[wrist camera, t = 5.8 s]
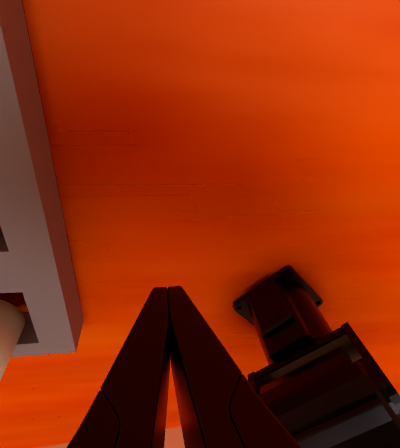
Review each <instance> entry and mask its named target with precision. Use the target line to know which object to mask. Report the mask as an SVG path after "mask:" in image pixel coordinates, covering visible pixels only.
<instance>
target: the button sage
mask: <svg viewBox="0 0 400 448" xmlns="http://www.w3.org/2000/svg"><path fill="white" fill-rule="evenodd" d="M24 326H25V317H24V315H23V314H22V312H21V311H20V310H19V309H18V308H17V307H15V306H14V305H12V304H11V303H8V302H6V301H3V300H0V380H1V378H2V376H3V373H4V371H5V369H6V367H7V364H8V362H9V360H10V358H11V355H12V353H13V351H14V348H15V346H16V344H17V342H18V339H19V337H20V335H21V333H22V330H23V328H24Z"/></svg>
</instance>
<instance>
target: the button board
mask: <svg viewBox="0 0 400 448" xmlns="http://www.w3.org/2000/svg"><path fill="white" fill-rule="evenodd" d="M17 292H22V293H23V296H24V299H25V302H26V305H27V308H28V311H29V313H22V314H23V315H24V317H25V326H24V328H23V330H22V333H21V335H20V337H19V339H18V342H17V344H16V346H15V348H14V351H13V353H12V355H11V357H18V356H31V355H44V354H56V353H69V352H76V350H77V346H78V341H79V337H80V333H81V329H82V324H83V317H82V311H81V306H80V301H79V296H78V291H77V285H76V280H75V275H74V270H73V264H72V259H71V254H70V249H69V244H68V238H67V233H66V228H65V223H64V218H63V212H62V207H61V202H60V197H59V192H58V186H57V181H56V176H55V171H54V165H53V160H52V155H51V150H50V145H49V139H48V134H47V129H46V124H45V119H44V113H43V108H42V103H41V98H40V93H39V87H38V82H37V77H36V72H35V66H34V61H33V56H32V51H31V46H30V40H29V35H28V30H27V25H26V20H25V14H24V9H23V4H22V0H0V293H17Z"/></svg>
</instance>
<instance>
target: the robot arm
mask: <svg viewBox="0 0 400 448" xmlns="http://www.w3.org/2000/svg"><path fill="white" fill-rule="evenodd" d="M288 272H289V273H288ZM322 303H323V301H322V299H321V298H320V296H319V295H318V294H317V293H316V292H315V291H314V290H313V289H312V288H311V287H310V286H309V285H308V284H307V282H306V281H305V280H304V279H303V278H302V277H301V276H300V275H299V274H298V273H297V272H296V271H295V269H294V268H293V267H291V266H288V267H285V268H284V269H282V270H281V271H279V272H278V273H277V274H275V275H274V276H272V277H271V278H269V279H268V280H266V281H265V282H263V283H262V284H261V285H259V286H258V287H256V288H255V289H253V290H252V291H250V292H249V293H247V294H246V295H244V296H243V297H242V298H240V299H239V300H237V301H236V302H234V304H233V307H234V310H235V311H236V312H237V313H239V314H240V315H241V316H243V317H244V318H245V319H246V320H248V321H249V322H250V323H252V324H253V325H254V326H255V329H256V331H257V334H258V337H259V339H260V342H261V345H262V348H263V350H264V353H265V356H266V358H267V361H268V364H269V365H268V366H266V367H264V368H263V369H261V370H259V371H257V372H252V373H250V374H248V380H247V379H246V378H245V376H244V375H241V374H242V372H241V371H240V369H239V368H238V366H237V365H236V364H235V362H234V361H233V359H232V358H231V356H230V355H229V354H228V352H227V351H226V349H225V348H224V346H223V345H222V344H221V342H220V341H219V339H218V338H217V336H216V335H215V334H214V332H213V331H212V329H211V328H210V326H209V325H208V324H207V322H206V321H205V319H204V318H203V316H202V315H201V314H200V312H199V311H198V309H197V308H196V306H195V305H194V304H193V302H192V301H191V299H190V298H189V296H188V295H187V294H186V292H185V291H184V289H183V288H182V287H181V286H170V287H168V289H167V288H166V287H155V288H153V289H152V291H151V293H150V295H149V297H148V299H147V301H146V302H145V304H144V306H143V308H142V310H141V312H140V314H139V316H138V318H137V320H136V322H135V323H134V325H133V327H132V329H131V331H130V333H129V335H128V337H127V339H126V341H125V342H124V344H123V346H122V348H121V350H120V352H119V354H118V356H117V358H116V360H115V362H114V363H113V365H112V367H111V369H110V371H109V373H108V375H107V377H106V379H105V381H104V383H103V384H102V386H101V390H100V391H99V392H98V394H97V396H96V397H95V399H94V401H93V403H92V405H91V407H90V409H89V410H88V412H87V414H86V416H85V418H84V419H83V421H82V423H81V425H80V427H79V428H78V430H77V432H76V433H75V435H74V436H73V438H72V440H71V441H70V443H69V444H68V446H67V448H164V441H165V428H166V414H167V400H168V386H169V372H170V360H171V368H172V374H173V380H174V386H175V392H176V398H177V403H178V409H179V415H180V421H181V427H182V433H183V439H184V445H185V448H400V396H399V394H398V393H397V391H396V390H395V388H394V387H393V386H392V384H391V383H390V381H389V380H388V378H387V377H386V376H385V374H384V373H383V371H382V370H381V369H380V367H379V366H378V364H377V363H376V362H375V360H374V359H373V357H372V356H371V355H370V353H369V352H368V350H367V349H366V348H365V346H364V345H363V343H362V342H361V341H360V339H359V338H358V336H357V335H356V334H355V332H354V331H353V329H352V328H351V327H350V325H349V324H348V322H347V323H345V324H343V325H341V327H340V328H338V329H336V330H335V331H332V329H331V328H330V326H329V325H328V323H327V322H326V320H325V318H324V317H323V315H322V314H321V312H320V311H319V309H318V306H320V305H321V304H322ZM248 381H249V382H248Z"/></svg>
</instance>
